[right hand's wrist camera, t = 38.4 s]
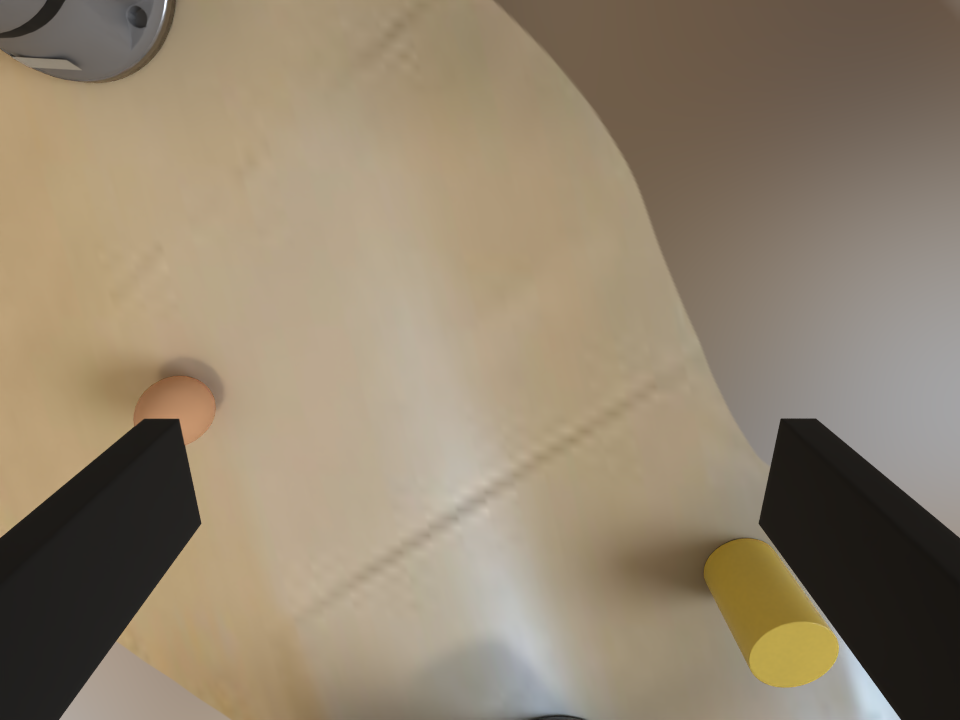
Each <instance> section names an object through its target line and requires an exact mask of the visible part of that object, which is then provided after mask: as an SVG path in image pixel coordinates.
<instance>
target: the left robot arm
mask: <svg viewBox="0 0 960 720" xmlns="http://www.w3.org/2000/svg"><path fill="white" fill-rule="evenodd" d="M537 720H581V719H577V718H572V717H547V718H541V719H537Z"/></svg>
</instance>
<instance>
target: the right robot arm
mask: <svg viewBox="0 0 960 720" xmlns="http://www.w3.org/2000/svg"><path fill="white" fill-rule="evenodd" d="M175 3H176V0H0V49H1V50H3V51H4V52H5V53H7V54H8V55H10V56H11V57H12V58H14V59H16V60H17V61H19V62H21V63H22V64H24V65H26V66H28V67H31V68H33V69H35V70H38V71H40V72H43V73H45V74H48V75H51V76H53V77H57V78H61V79H65V80H72V81H79V82H86V83H104V82H110V81H115V80H119V79H122V78H125V77H127V76H129V75H131V74H133V73H135V72H136V71H138V70H140V69H141V68H142V67H143V66H145V65H146V64H147V63H148V62H149V61H150V60H151V59H152V58H153V57H154V56H155V55H156V53H157V52H158V51H159V49H160V48H161V46H162V44H163V43H164V41H165V39H166V37H167V35H168V32H169V29H170V27H171V24H172V20H173V16H174V11H175ZM200 525H201V520H200V515H199V510H198V505H197V501H196V496H195V491H194V486H193V482H192V477H191V472H190V467H189V463H188V458H187V453H186V448H185V444H184V439H183V434H182V430H181V425H180V420H179V419H143V420H142V421H141V422H139V423H138V424H137V425H136V426H135V427H133V428H132V429H131V430H130V431H129V432H127V433H126V434H125V435H124V436H123V437H121V438H120V439H119V440H118V441H117V442H115V443H114V444H113V445H112V446H111V447H109V448H108V449H107V450H106V451H105V452H103V453H102V454H101V455H100V456H98V457H97V458H96V459H95V460H94V461H92V462H91V463H90V464H89V465H88V466H86V467H85V468H84V469H83V470H82V471H80V472H79V473H78V474H77V475H76V476H74V477H73V478H72V479H71V480H70V481H68V482H67V483H66V484H65V485H64V486H62V487H61V488H60V489H59V490H58V491H56V492H55V493H54V494H53V495H52V496H50V497H49V498H48V499H47V500H45V501H44V502H43V503H42V504H41V505H39V506H38V507H37V508H36V509H35V510H33V511H32V512H31V513H30V514H29V515H27V516H26V517H25V518H24V519H23V520H21V521H20V522H19V523H18V524H17V525H15V526H14V527H13V528H12V529H11V530H9V531H8V532H7V533H6V534H5V535H3V536H2V537H1V538H0V720H59V719H60V718H61V716H62V715H63V713H64V712H65V711H66V709H67V708H68V706H69V705H70V704H71V702H72V701H73V700H74V698H75V697H76V695H77V694H78V693H79V691H80V690H81V689H82V687H83V686H84V684H85V683H86V682H87V680H88V679H89V678H90V676H91V675H92V673H93V672H94V671H95V669H96V668H97V667H98V665H99V664H100V662H101V661H102V660H103V658H104V657H105V656H106V654H107V653H108V651H109V650H110V649H111V647H112V646H113V644H114V643H115V642H116V640H117V639H118V638H119V636H120V635H121V634H122V632H123V631H124V629H125V628H126V627H127V625H128V624H129V622H130V621H131V620H132V618H133V617H134V616H135V614H136V613H137V611H138V610H139V609H140V607H141V606H142V605H143V603H144V602H145V600H146V599H147V598H148V596H149V595H150V594H151V592H152V591H153V589H154V588H155V587H156V585H157V584H158V583H159V581H160V580H161V578H162V577H163V576H164V574H165V573H166V572H167V570H168V569H169V567H170V566H171V565H172V563H173V562H174V561H175V559H176V558H177V556H178V555H179V554H180V552H181V551H182V550H183V548H184V547H185V545H186V544H187V543H188V541H189V540H190V538H191V537H192V536H193V534H194V533H195V532H196V530H197V529H198V527H199V526H200ZM759 525H760V526H761V527H762V529H763V530H764V532H765V533H766V534H767V536H768V537H769V538H770V540H771V541H772V543H773V544H774V545H775V547H776V548H777V550H778V551H779V552H780V554H781V555H782V556H783V558H784V559H785V561H786V562H787V563H788V565H789V566H790V567H791V569H792V570H793V572H794V573H795V574H796V576H797V577H798V578H799V580H800V581H801V583H802V584H803V585H804V587H805V588H806V589H807V591H808V592H809V594H810V595H811V596H812V598H813V599H814V600H815V602H816V603H817V605H818V606H819V607H820V609H821V610H822V611H823V613H824V614H825V616H826V617H827V618H828V620H829V621H830V622H831V624H832V625H833V627H834V628H835V629H836V631H837V632H838V634H839V635H840V636H841V638H842V639H843V640H844V642H845V643H846V645H847V646H848V647H849V649H850V650H851V651H852V653H853V654H854V656H855V657H856V658H857V660H858V661H859V662H860V664H861V665H862V667H863V668H864V669H865V671H866V672H867V673H868V675H869V676H870V678H871V679H872V680H873V682H874V683H875V684H876V686H877V687H878V689H879V690H880V691H881V693H882V694H883V695H884V697H885V698H886V700H887V701H888V702H889V704H890V705H891V707H892V708H893V709H894V711H895V712H896V713H897V715H898V716H899V718H900V719H901V720H960V538H959V537H958V536H957V535H955V534H954V533H953V532H952V531H951V530H949V529H948V528H947V527H946V526H945V525H943V524H942V523H941V522H940V521H939V520H937V519H936V518H935V517H934V516H933V515H931V514H930V513H929V512H928V511H927V510H925V509H924V508H923V507H922V506H921V505H919V504H918V503H917V502H916V501H915V500H913V499H912V498H911V497H910V496H908V495H907V494H906V493H905V492H904V491H902V490H901V489H900V488H899V487H898V486H896V485H895V484H894V483H893V482H892V481H890V480H889V479H888V478H887V477H886V476H884V475H883V474H882V473H881V472H880V471H878V470H877V469H876V468H875V467H874V466H872V465H871V464H870V463H869V462H867V461H866V460H865V459H864V458H863V457H862V456H860V455H859V454H858V453H857V452H855V451H854V450H853V449H852V448H851V447H849V446H848V445H847V444H846V443H845V442H843V441H842V440H841V439H840V438H839V437H837V436H836V435H835V434H834V433H833V432H831V431H830V430H829V429H828V428H827V427H825V426H824V425H823V424H822V423H821V422H819V421H818V420H817V419H781V420H780V425H779V429H778V434H777V439H776V444H775V448H774V453H773V458H772V463H771V467H770V472H769V477H768V482H767V486H766V491H765V496H764V501H763V505H762V510H761V515H760V520H759Z"/></svg>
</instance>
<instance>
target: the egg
mask: <svg viewBox="0 0 960 720" xmlns="http://www.w3.org/2000/svg"><path fill="white" fill-rule="evenodd" d="M215 410H216V406H215V399H214V397H213V395H212V392H211V391H210V390H209V388H208V387H207V386H206V385H205V384H204V383H202V382H200V381H199V380H197V379H194V378H191V377H187V376H172V377H168V378H165V379H162V380H160V381H158V382H156V383H155V384H153V385H151V386H150V387H149V388H148V389H147V390H146V391H145V392H144V393H143V394H142V396H141V397H140V399H139V401H138V403H137V405H136V408H135V412H134V427H135V426H136V425H137V424H138V423H139V422H141V421H142V420H143V419H179V420H180V425H181V430H182V434H183V439H184V444H185V445H187V444H189V443H191V442H193V441H195V440H196V439H198V438H199V437H200V436H202V435H203V434H204V433H205V431H206V430H207V429H208V428H209V427H210V425H211V424H212V421H213V419H214V416H215Z"/></svg>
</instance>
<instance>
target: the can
mask: <svg viewBox="0 0 960 720" xmlns="http://www.w3.org/2000/svg"><path fill="white" fill-rule="evenodd" d="M704 579H705V581H706V584H707V586H708V588H709V590H710V591H711V593H712V595H713V597H714V599H715V601H716V603H717V605H718V607H719V609H720V611H721V613H722V615H723V617H724V619H725V621H726V623H727V625H728V627H729V629H730V631H731V633H732V635H733V637H734V639H735V640H736V642H737V644H738V646H739V648H740V650H741V652H742V654H743V656H744V658H745V660H746V662H747V664H748V666H749V668H750V670H751V672H752V673H753V675H754V676H755V677H756V678H757V679H759V680H760V681H762V682H763V683H765V684H768V685H771V686H775V687H796V686H801V685H804V684H807V683H810V682H812V681H814V680H816V679H818V678H819V677H821V676H822V675H824V674H825V673H826V672H827V671H828V670H829V669H830V668H831V667H832V665H833V664H834V662H835V661H836V658H837V656H838V651H839V646H838V641H837V638H836V636H835V635H834V633H833V632H832V631H831V629H830V628H829V626H828V625H827V624H826V622H825V621H824V619H823V618H822V617H821V615H820V614H819V612H818V611H817V610H816V608H815V607H814V605H813V604H812V603H811V601H810V600H809V598H808V597H807V596H806V594H805V593H804V591H803V590H802V589H801V587H800V586H799V584H798V583H797V582H796V580H795V579H794V577H793V576H792V575H791V573H790V572H789V571H788V569H787V568H786V566H785V565H784V564H783V562H782V561H781V559H780V558H779V557H778V555H777V554H776V552H775V551H774V550H773V548H772V547H770V546H769V545H768V544H766V543H764V542H762V541H760V540H756V539H749V538H746V539H737V540H733V541H730V542H728V543H725V544H723V545H722V546H720V547H719V548H717V549H716V550H715V551H714V552H713V553H712V554H711V555H710V556H709V558H708V559H707V561H706V564H705V567H704Z"/></svg>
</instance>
